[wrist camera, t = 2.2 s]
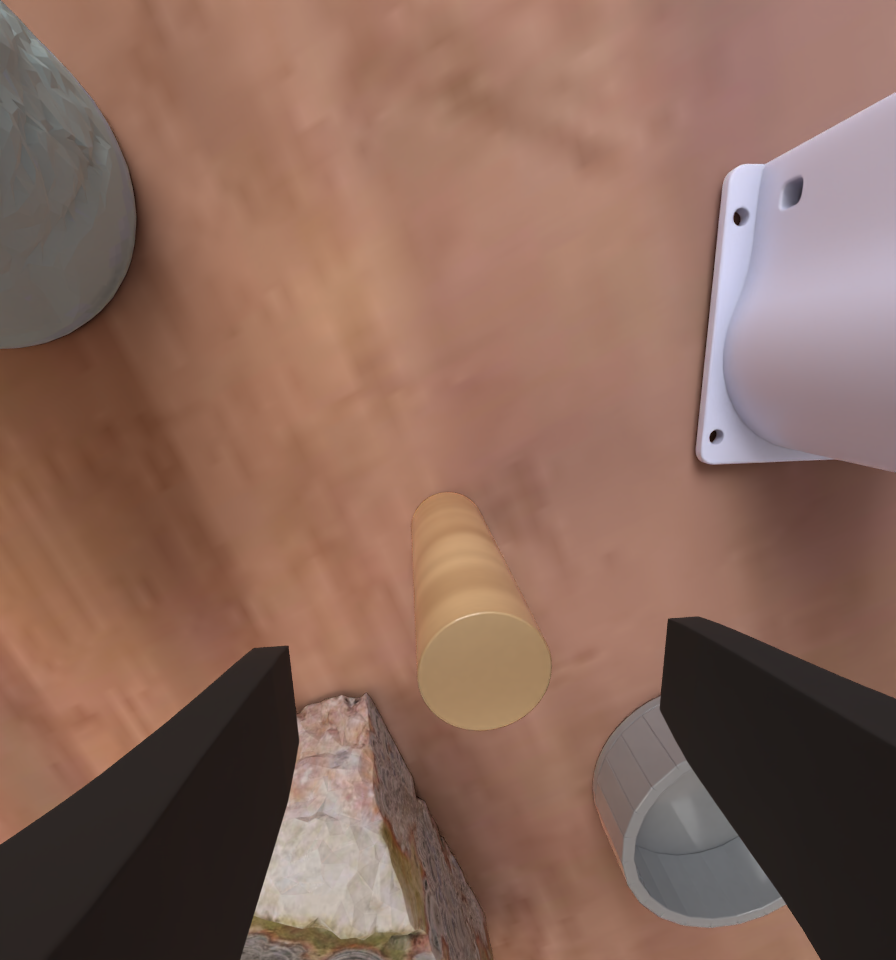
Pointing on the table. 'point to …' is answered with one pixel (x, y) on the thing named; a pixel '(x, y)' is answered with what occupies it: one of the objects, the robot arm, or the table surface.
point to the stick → (471, 621)
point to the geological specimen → (360, 855)
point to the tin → (674, 831)
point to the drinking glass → (55, 196)
